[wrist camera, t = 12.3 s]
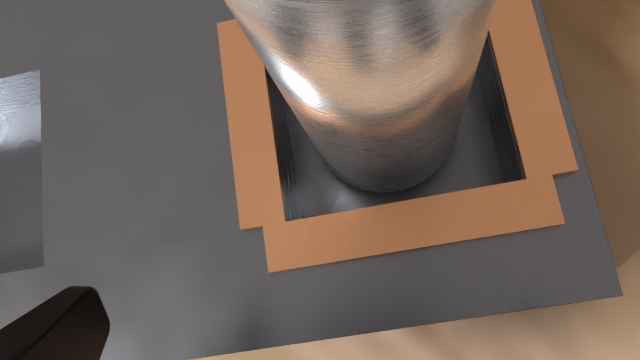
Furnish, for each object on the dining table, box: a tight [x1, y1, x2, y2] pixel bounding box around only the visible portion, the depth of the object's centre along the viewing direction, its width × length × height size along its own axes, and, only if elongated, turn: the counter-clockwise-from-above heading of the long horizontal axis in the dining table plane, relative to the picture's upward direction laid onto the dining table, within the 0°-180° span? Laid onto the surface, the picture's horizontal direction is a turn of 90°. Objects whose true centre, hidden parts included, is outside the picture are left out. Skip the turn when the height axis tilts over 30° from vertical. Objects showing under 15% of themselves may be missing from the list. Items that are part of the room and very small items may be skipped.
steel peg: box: [224, 0, 498, 193], centre depth 10 cm, size 4×4×12 cm
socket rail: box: [0, 0, 623, 360], centre depth 16 cm, size 22×12×3 cm, turn 99°
